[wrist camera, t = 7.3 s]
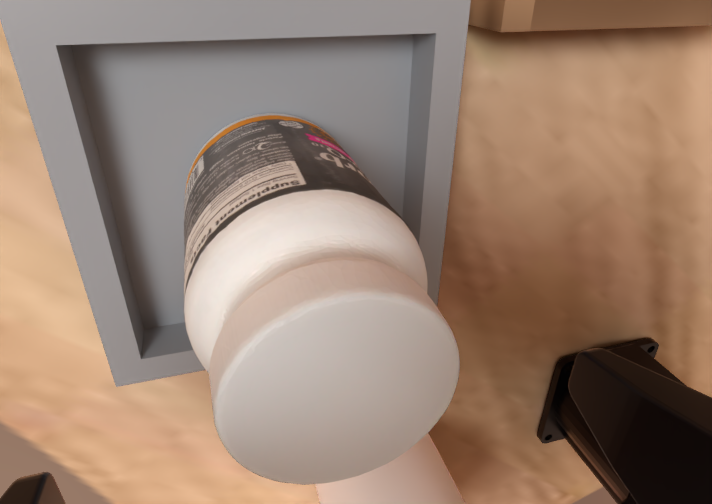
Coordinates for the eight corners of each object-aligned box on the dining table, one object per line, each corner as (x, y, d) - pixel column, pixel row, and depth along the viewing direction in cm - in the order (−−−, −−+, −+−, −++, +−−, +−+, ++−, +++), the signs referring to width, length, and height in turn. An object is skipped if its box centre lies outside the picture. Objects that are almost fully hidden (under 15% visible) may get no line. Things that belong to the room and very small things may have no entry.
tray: (413, 294, 22) (435, 325, 20) (122, 344, 19) (116, 386, 17) (437, -10, 16) (471, -6, 14) (20, -7, 13) (-7, -1, 11)
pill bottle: (378, 197, 19) (531, 384, 11) (259, 289, 19) (317, 538, 11) (283, 69, 16) (396, 197, 7) (142, 184, 16) (103, 423, 8)
